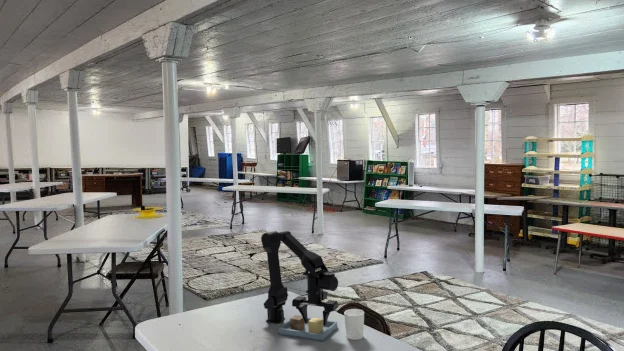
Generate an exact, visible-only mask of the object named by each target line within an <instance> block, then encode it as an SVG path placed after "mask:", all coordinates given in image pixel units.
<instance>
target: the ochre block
mask: <svg viewBox="0 0 624 351" xmlns="http://www.w3.org/2000/svg"><path fill="white" fill-rule="evenodd" d="M311 318H312V319H310V320H309V321H308V330H309V332H312V333H318V334H319V333H320V332H321V331H322V330H323V318H318V317H311Z"/></svg>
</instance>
